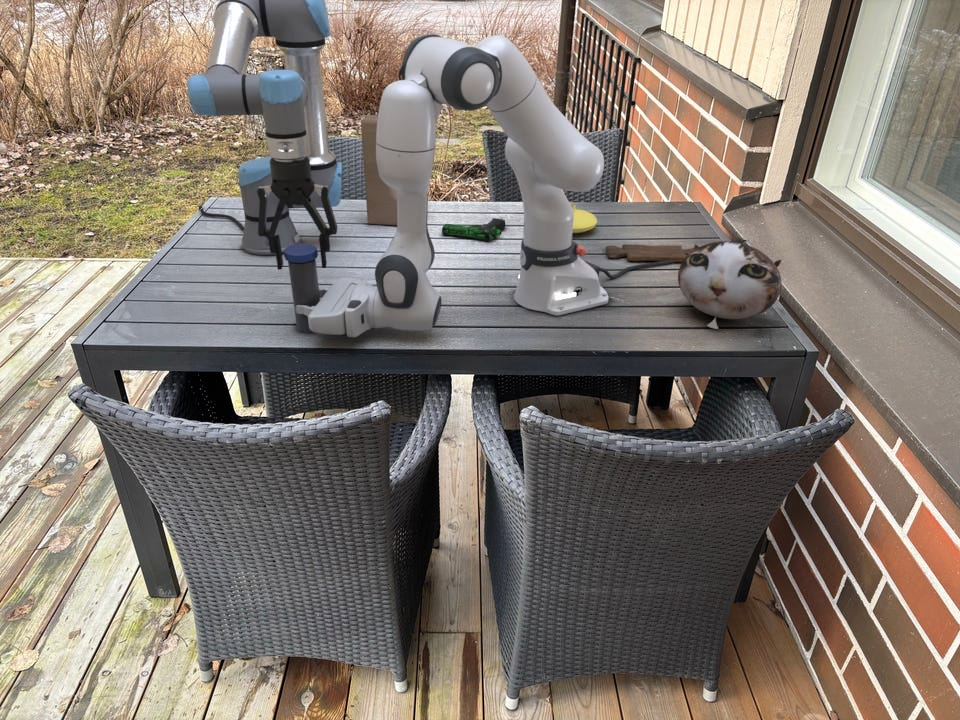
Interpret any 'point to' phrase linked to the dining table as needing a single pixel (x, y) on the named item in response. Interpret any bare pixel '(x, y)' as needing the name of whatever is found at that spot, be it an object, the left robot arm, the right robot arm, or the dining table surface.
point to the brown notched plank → (648, 252)
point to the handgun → (476, 230)
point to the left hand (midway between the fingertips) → (302, 266)
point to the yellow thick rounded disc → (583, 220)
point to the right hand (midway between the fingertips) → (302, 301)
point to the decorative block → (376, 179)
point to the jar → (304, 289)
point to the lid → (300, 253)
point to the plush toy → (729, 280)
